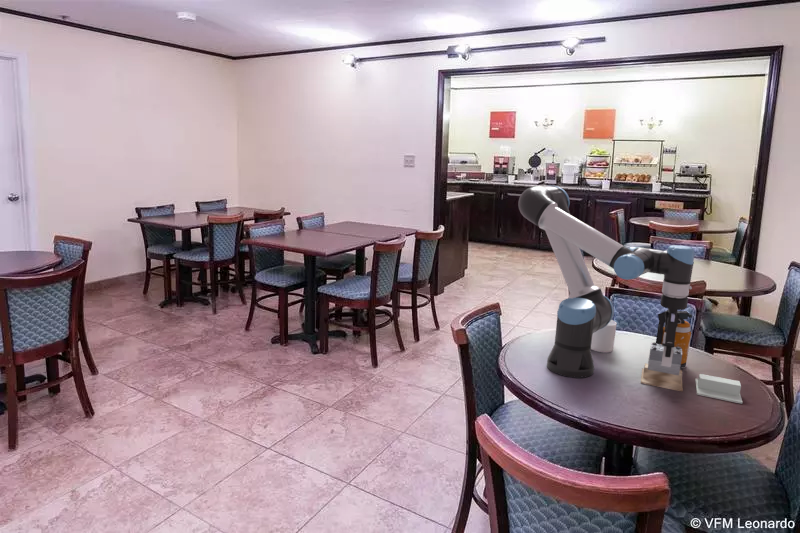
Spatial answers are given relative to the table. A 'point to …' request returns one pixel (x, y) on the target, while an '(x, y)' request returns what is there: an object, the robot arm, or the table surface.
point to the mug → (604, 338)
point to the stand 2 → (718, 388)
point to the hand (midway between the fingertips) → (666, 358)
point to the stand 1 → (661, 379)
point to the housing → (656, 359)
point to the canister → (677, 333)
